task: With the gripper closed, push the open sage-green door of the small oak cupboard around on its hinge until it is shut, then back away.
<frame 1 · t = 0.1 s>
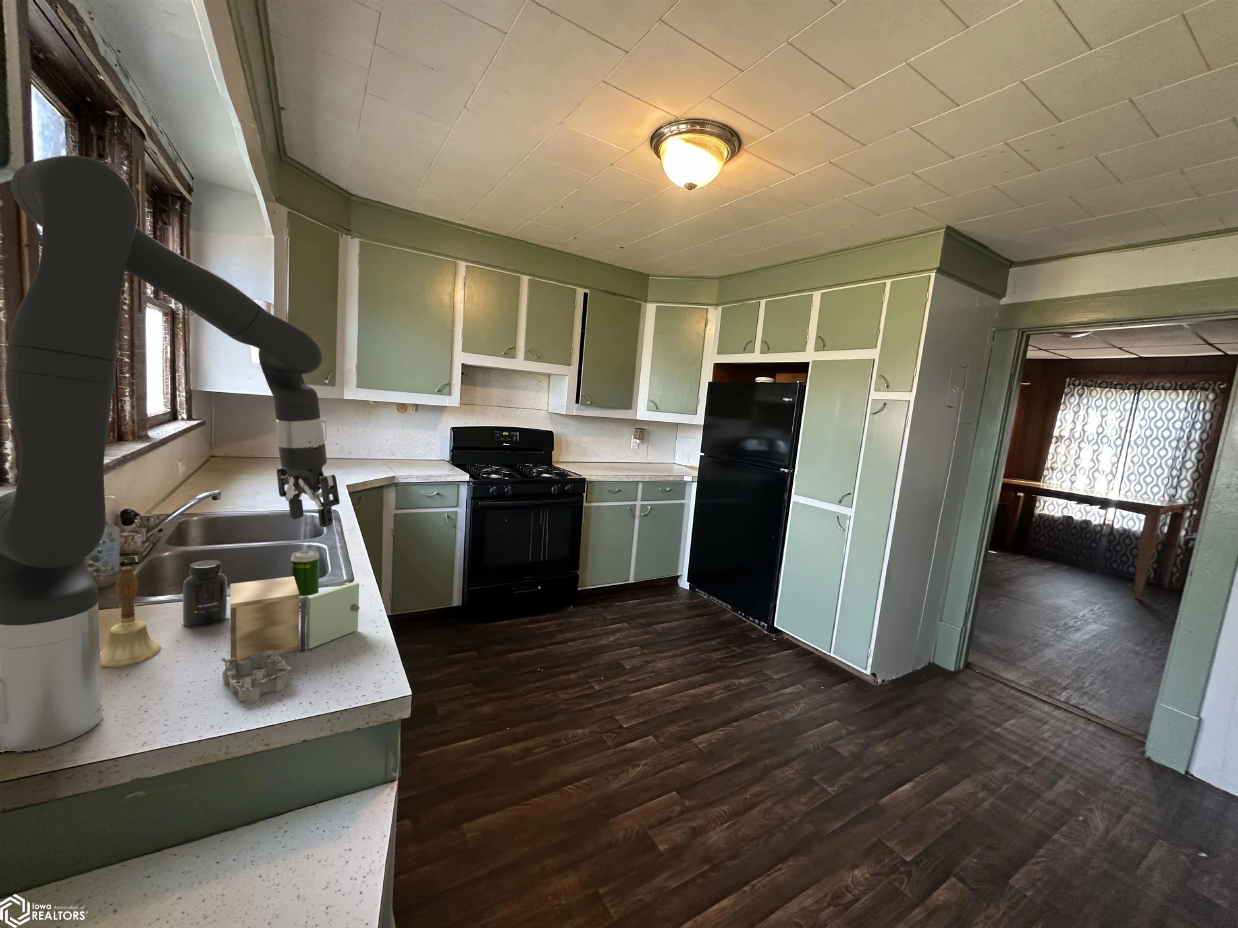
hand: (311, 521, 98), 22 cm above the table, tool pointing down, fingers open, 8 cm apart
beer can: (304, 606, 110), on the table
door: (335, 614, 96), point 5 cm above the table, hinge at 65.0°
cupboard: (264, 644, 93), on the table
egg carton: (256, 684, 82), on the table
hand bell: (128, 656, 86), on the table
supplement bottle: (205, 621, 100), on the table
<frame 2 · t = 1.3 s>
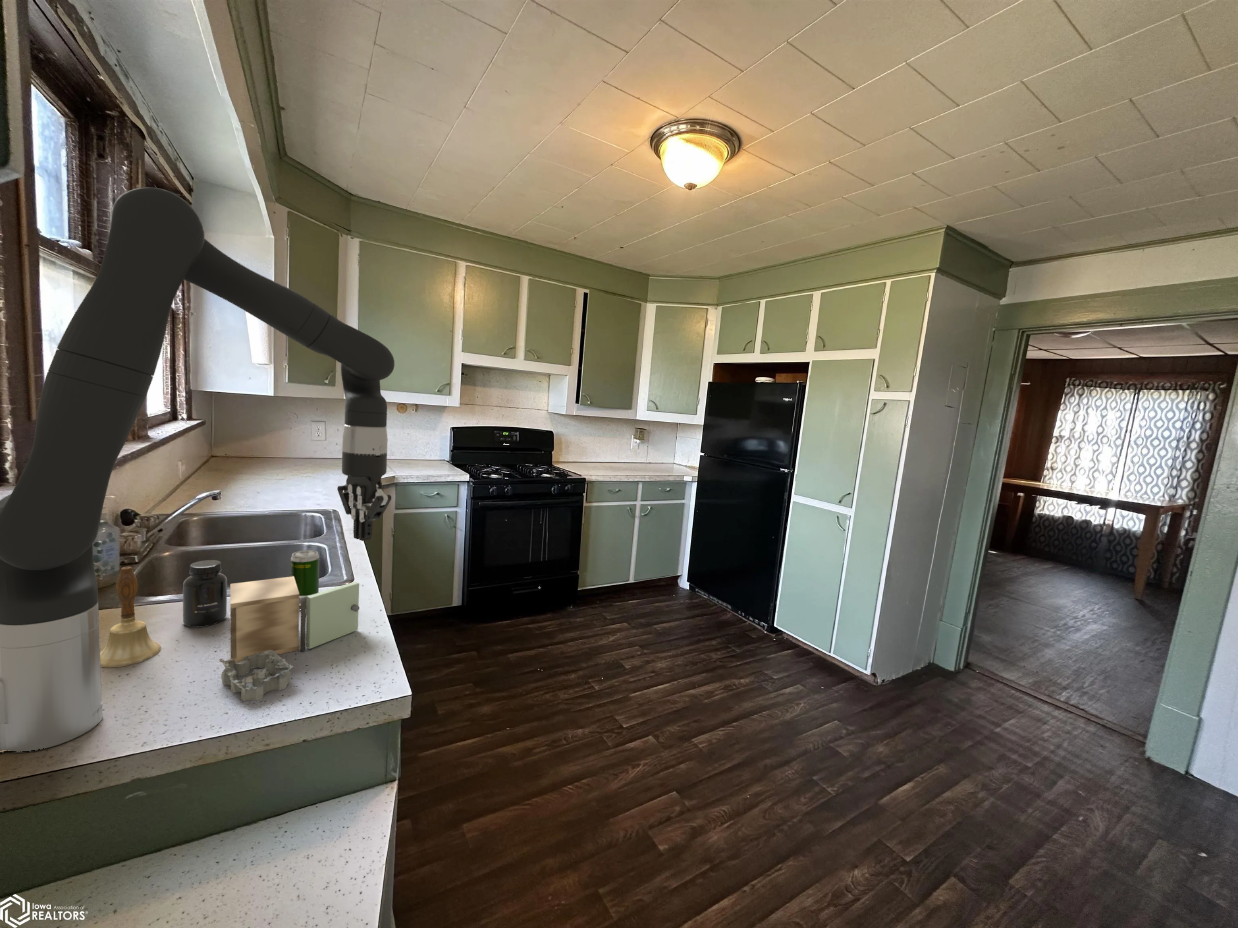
hand: (362, 538, 95), 21 cm above the table, tool pointing down, fingers closed
nothing on the table moved.
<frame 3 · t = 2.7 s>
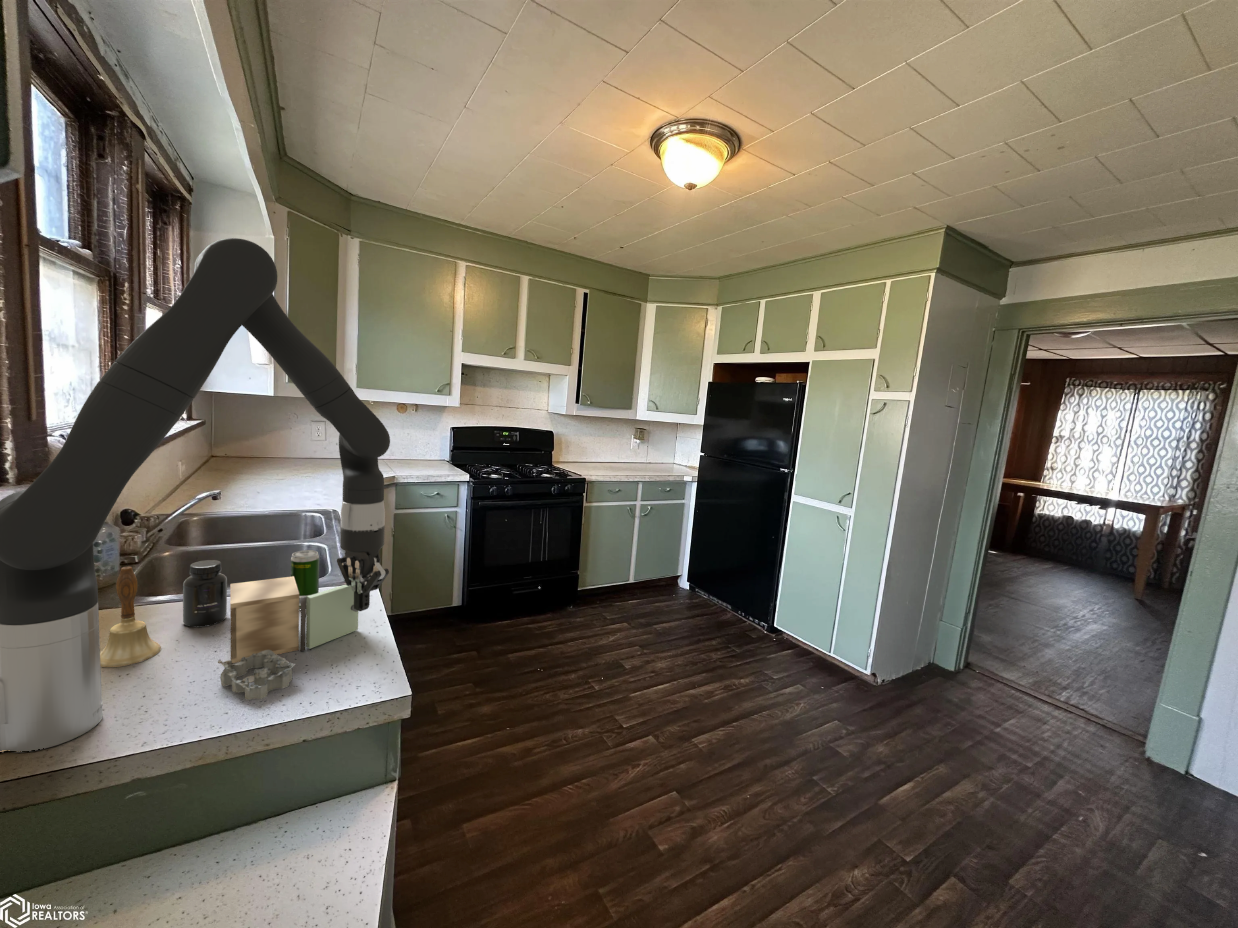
hand: (361, 609, 97), 7 cm above the table, tool pointing down, fingers closed
nothing on the table moved.
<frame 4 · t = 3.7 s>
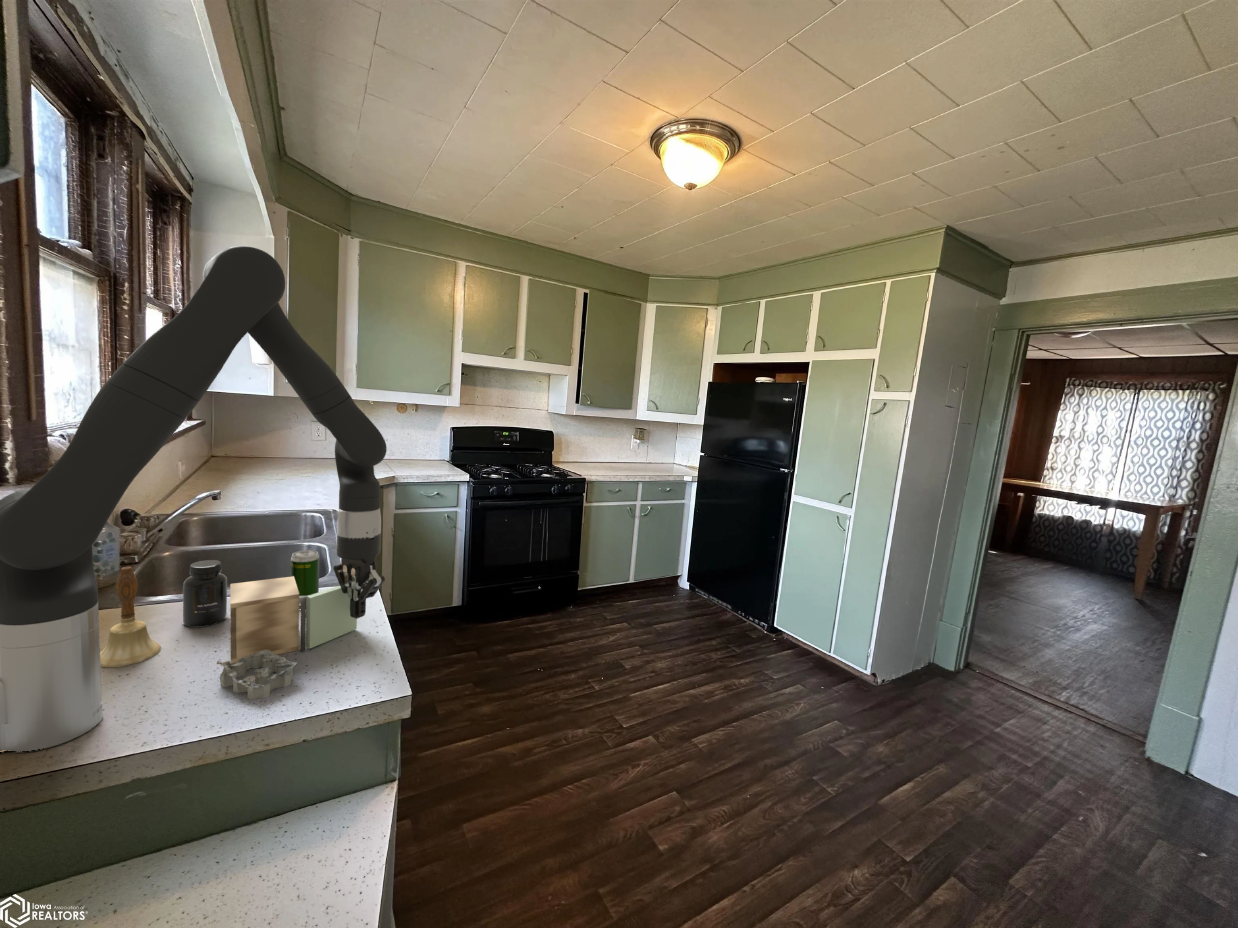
hand: (357, 616, 97), 5 cm above the table, tool pointing down, fingers closed
door: (334, 614, 96), point 5 cm above the table, hinge at 62.5°, touching hand
everything else where it was.
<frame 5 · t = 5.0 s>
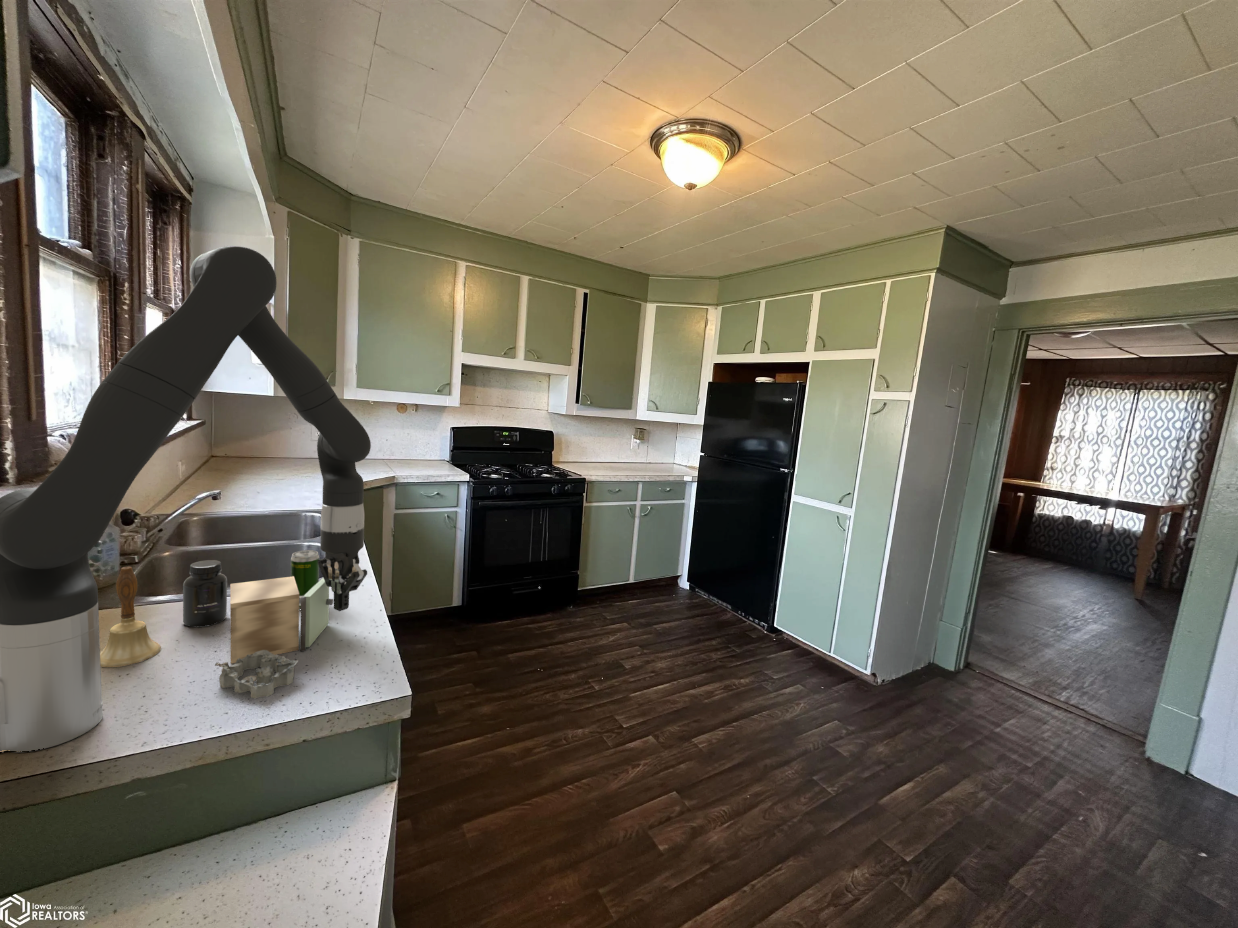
hand: (341, 609, 99), 5 cm above the table, tool pointing down, fingers closed
door: (319, 610, 97), point 5 cm above the table, hinge at 26.2°, touching hand
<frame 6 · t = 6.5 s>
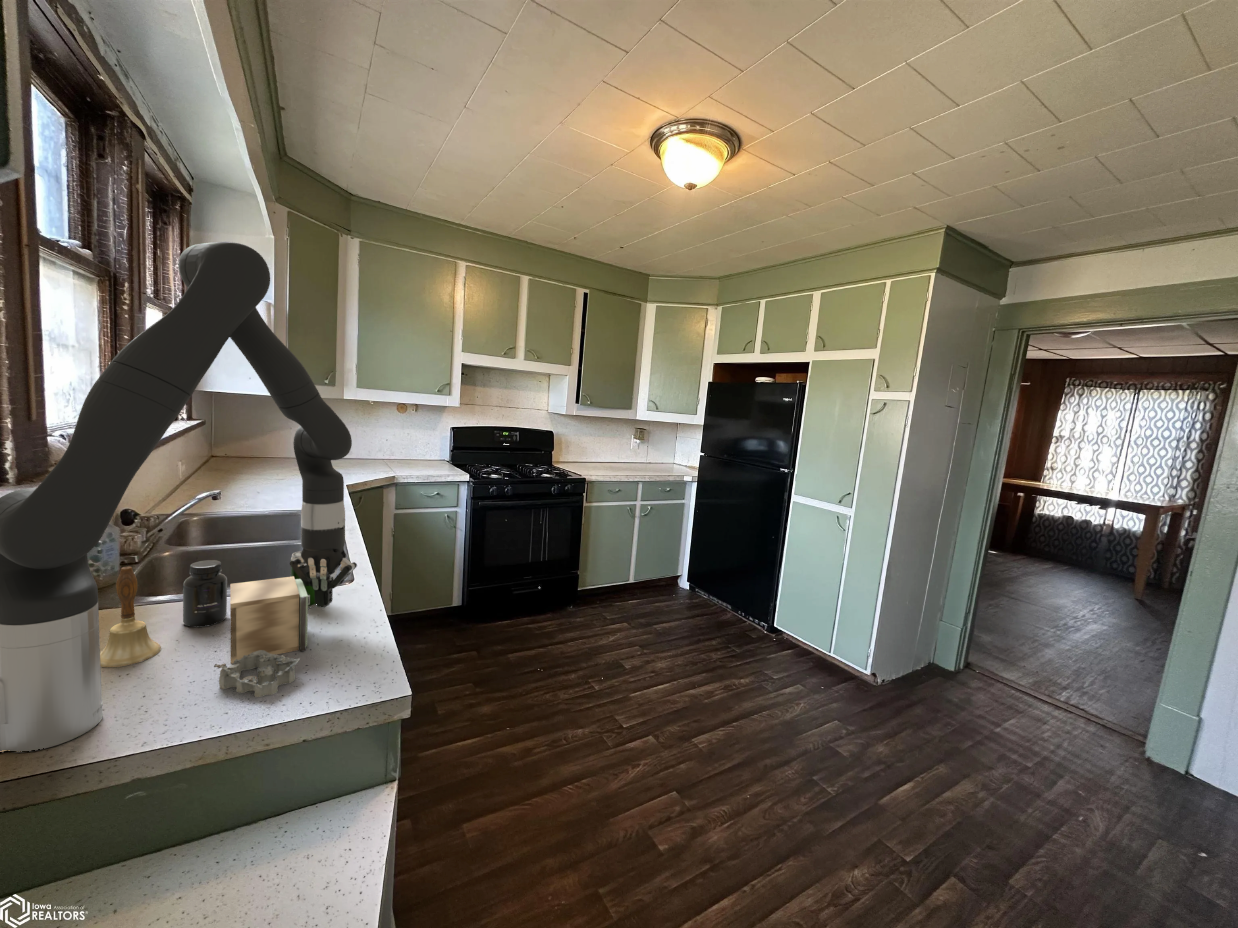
hand: (323, 605, 100), 5 cm above the table, tool pointing down, fingers closed
door: (303, 611, 96), point 5 cm above the table, hinge at -0.6°, touching hand
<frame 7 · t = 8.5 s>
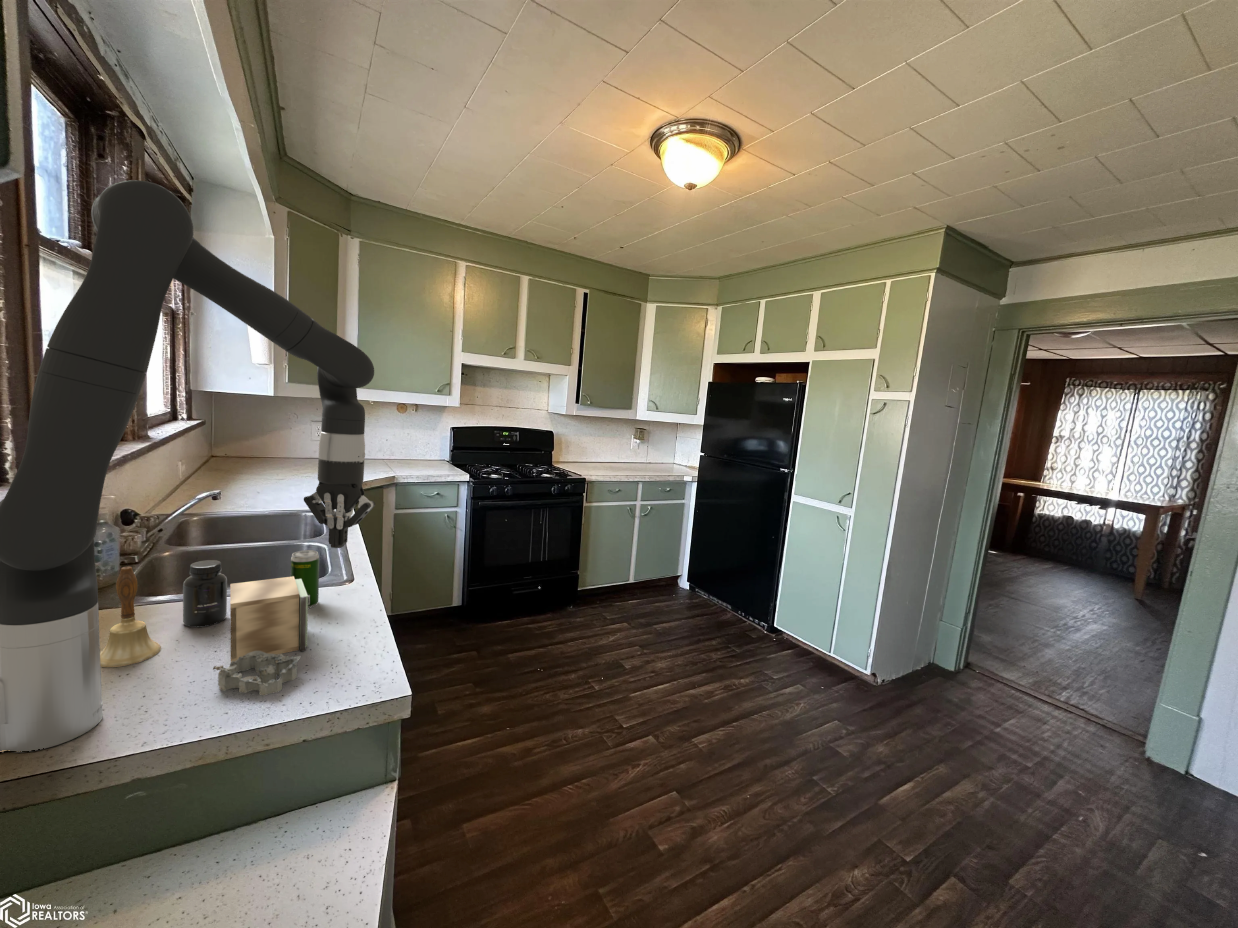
hand: (337, 546, 94), 19 cm above the table, tool pointing down, fingers closed
door: (303, 611, 96), point 5 cm above the table, hinge at -0.8°
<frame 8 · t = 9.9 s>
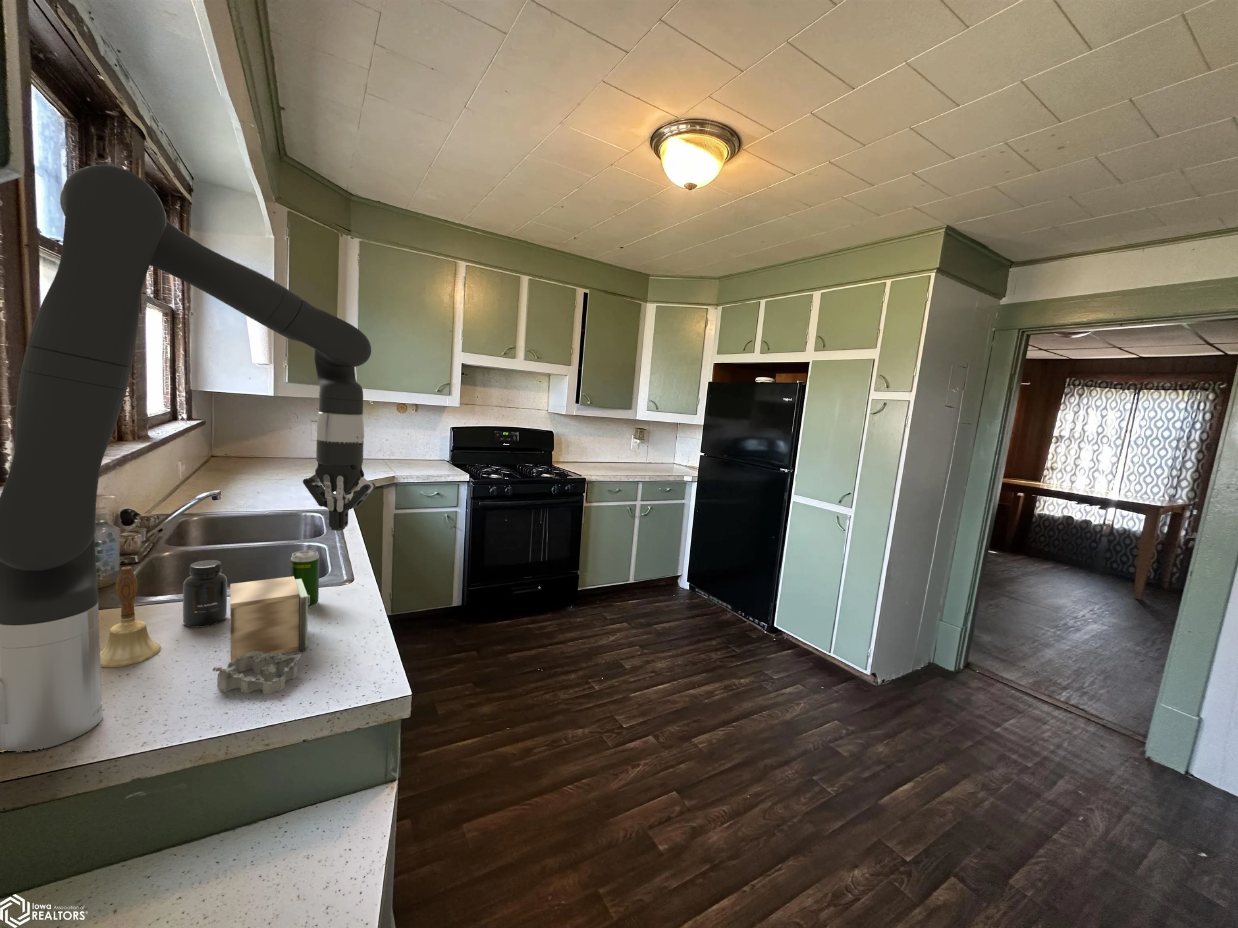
hand: (338, 529, 92), 23 cm above the table, tool pointing down, fingers closed
at the end: door at -1° (first picture: +65°); door touching nothing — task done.
